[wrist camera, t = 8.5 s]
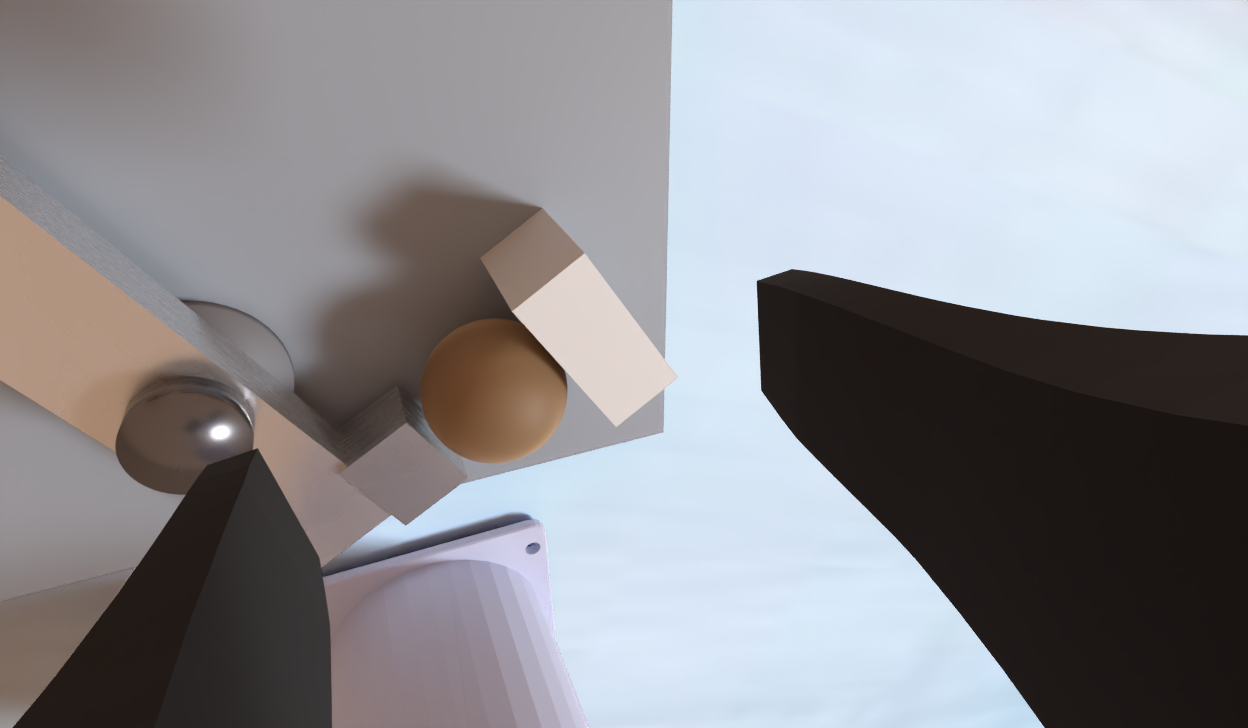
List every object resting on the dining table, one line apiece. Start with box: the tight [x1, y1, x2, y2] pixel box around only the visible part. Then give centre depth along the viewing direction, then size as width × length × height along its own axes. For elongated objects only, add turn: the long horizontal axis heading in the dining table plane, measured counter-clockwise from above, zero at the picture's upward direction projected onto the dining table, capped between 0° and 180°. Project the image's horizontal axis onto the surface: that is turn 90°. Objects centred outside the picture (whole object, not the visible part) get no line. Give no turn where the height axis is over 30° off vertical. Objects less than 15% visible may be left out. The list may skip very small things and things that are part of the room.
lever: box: [0, 154, 468, 568], centre depth 12 cm, size 18×5×6 cm, turn 31°
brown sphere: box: [420, 318, 568, 464], centre depth 18 cm, size 4×4×4 cm
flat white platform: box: [0, 0, 678, 602], centre depth 14 cm, size 19×23×4 cm
